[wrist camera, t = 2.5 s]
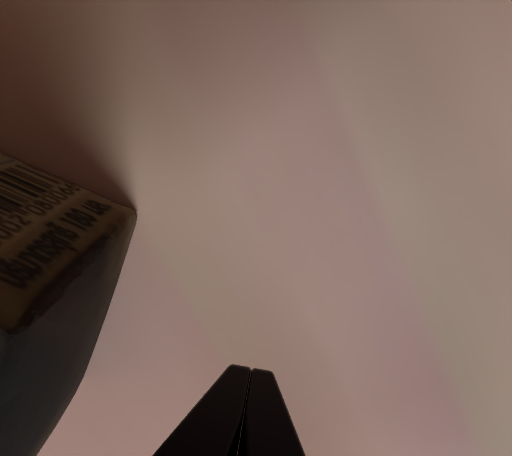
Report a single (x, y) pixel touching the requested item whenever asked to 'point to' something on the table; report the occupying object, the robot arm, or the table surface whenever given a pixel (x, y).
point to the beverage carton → (51, 295)
